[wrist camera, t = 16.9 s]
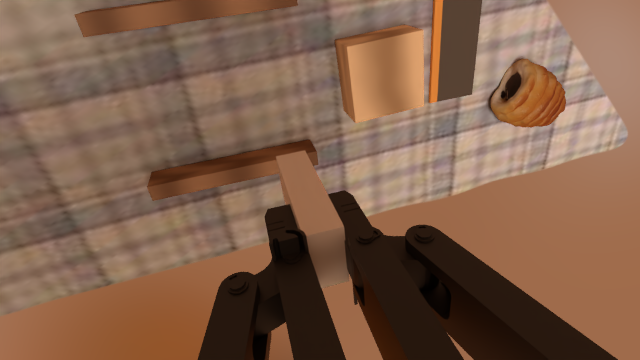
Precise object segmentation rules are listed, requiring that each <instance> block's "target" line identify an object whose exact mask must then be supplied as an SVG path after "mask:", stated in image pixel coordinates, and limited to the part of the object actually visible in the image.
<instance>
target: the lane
mask: <svg viewBox="0 0 640 360" xmlns="http://www.w3.org/2000/svg"><path fill="white" fill-rule="evenodd" d="M291 6H298V3H297V0H164V1H157V2H149V3H142V4H135V5H128V6H120V7H113V8H106V9H98V10H91V11H86V12H82V13H79V14H75V17H76V20H77V22H78V25H79V27H80V29H81V32H82V34H83V36H84V37H88V36H95V35H102V34H108V33H115V32H122V31H129V30H135V29H142V28H149V27H156V26H163V25H169V24H176V23H183V22H190V21H196V20H203V19H210V18H217V17H224V16H230V15H237V14H244V13H251V12H257V11H264V10H271V9H278V8H285V7H291ZM304 150H305V151H306V153H307V155H308V157H309V159H310V161H311V163H312V165H313V166H314V165H318V159H317V151H316V149H315V148H314V146H313V144H312V142H311V141H310V140H305V141H300V142H295V143H290V144H285V145H281V146H276V147H271V148H266V149H261V150H256V151H252V152H247V153H242V154H237V155H232V156H227V157H223V158H218V159H213V160H208V161H203V162H198V163H194V164H189V165H184V166H179V167H174V168H169V169H164V170H160V171H155V172H152V173H151V177H150V180H149V183H148V186H147V188H148V191H149V193H150V195H151V198H152V200H153V201H154V200H159V199H163V198H168V197H172V196H177V195H181V194H186V193H191V192H195V191H200V190H204V189H209V188H214V187H218V186H223V185H227V184H232V183H236V182H241V181H246V180H250V179H255V178H259V177H264V176H268V175H273V174H278V173H279V170H278V165H277V160H276V156H280V155H285V154H290V153H294V152H299V151H304Z"/></svg>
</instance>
